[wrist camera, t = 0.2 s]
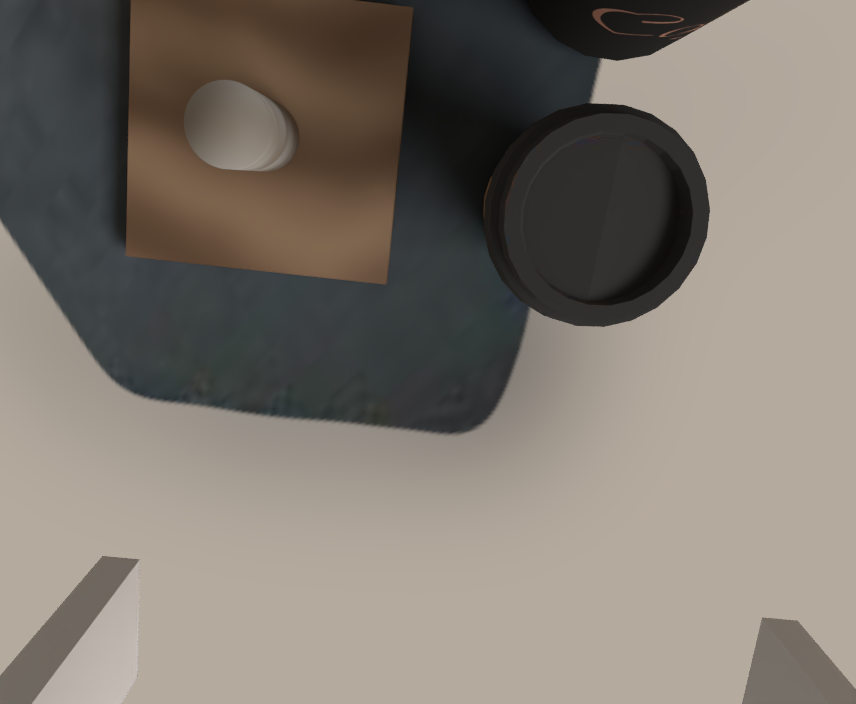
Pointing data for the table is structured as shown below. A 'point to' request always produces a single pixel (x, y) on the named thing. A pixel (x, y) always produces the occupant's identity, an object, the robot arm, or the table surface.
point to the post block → (266, 133)
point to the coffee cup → (596, 214)
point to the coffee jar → (625, 23)
